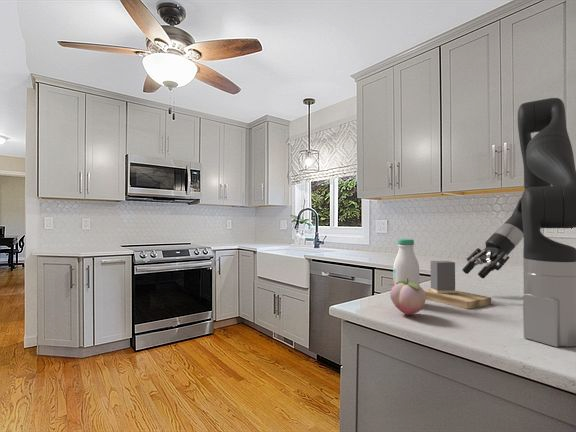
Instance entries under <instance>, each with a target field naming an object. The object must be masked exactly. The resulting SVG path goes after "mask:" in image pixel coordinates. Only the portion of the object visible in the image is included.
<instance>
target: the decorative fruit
mask: <svg viewBox="0 0 576 432" xmlns="http://www.w3.org/2000/svg"><path fill="white" fill-rule="evenodd" d="M424 290H425V289H424V288H423V287H422V286H421V285H420V286H419V285H417V284H416V283H409V282H408V278H407V282H406V281H399V282H397V283H396V285H395V286H394V287H393V286H392V288H391V290H390V295H389V296H390V299H391V301H392V303H393V305H394V307H396V308H397V310H399V311H400V312H402V314H404V315H406V316H411V315H414V314H416V313H419V312H420V311H421V310H422V309H423V308H424V306H425V303H426V301H427V299H426V294H425V292H424Z"/></svg>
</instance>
